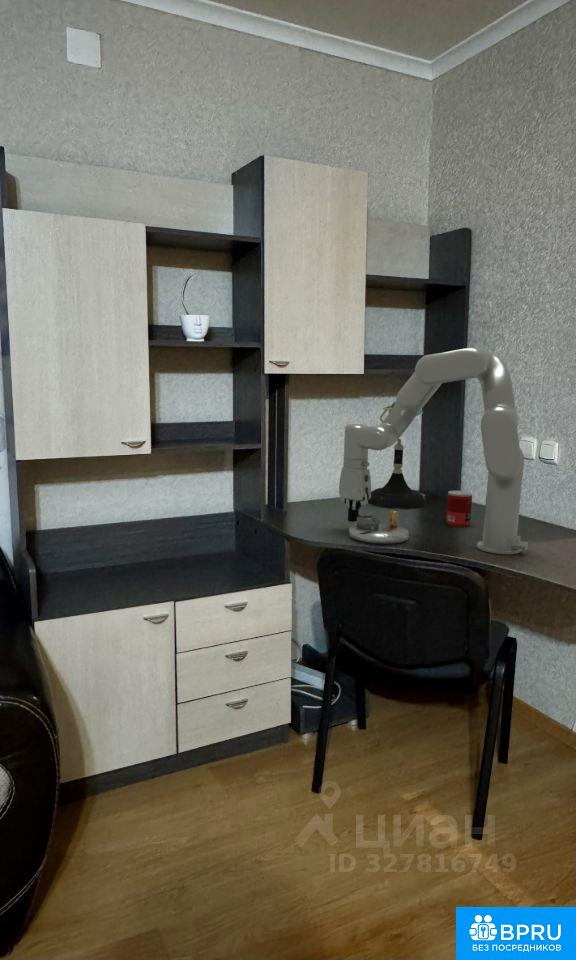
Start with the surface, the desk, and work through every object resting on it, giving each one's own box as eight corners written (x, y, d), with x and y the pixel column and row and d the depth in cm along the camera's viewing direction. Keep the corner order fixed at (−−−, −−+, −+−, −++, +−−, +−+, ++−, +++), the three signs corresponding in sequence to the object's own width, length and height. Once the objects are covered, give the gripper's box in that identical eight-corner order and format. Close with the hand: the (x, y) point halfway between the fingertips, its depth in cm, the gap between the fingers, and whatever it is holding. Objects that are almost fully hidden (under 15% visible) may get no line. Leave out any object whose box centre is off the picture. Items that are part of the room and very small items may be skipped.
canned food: (470, 527, 231) (473, 495, 229) (446, 526, 232) (448, 493, 230) (469, 522, 238) (471, 491, 236) (445, 521, 240) (447, 489, 238)
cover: (383, 527, 216) (384, 513, 215) (368, 531, 211) (369, 516, 210) (366, 523, 221) (367, 509, 220) (351, 526, 216) (352, 512, 215)
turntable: (420, 537, 213) (421, 515, 211) (382, 546, 200) (383, 523, 199) (374, 526, 226) (375, 505, 224) (337, 534, 213) (337, 512, 212)
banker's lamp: (421, 512, 253) (427, 402, 247) (359, 506, 260) (364, 399, 254) (430, 499, 278) (436, 399, 271) (373, 494, 285) (378, 396, 279)
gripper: (381, 465, 214) (378, 523, 217) (345, 460, 225) (343, 515, 228) (365, 467, 209) (362, 527, 212) (329, 461, 220) (327, 518, 223)
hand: (352, 520), depth 220 cm, fingers closed
